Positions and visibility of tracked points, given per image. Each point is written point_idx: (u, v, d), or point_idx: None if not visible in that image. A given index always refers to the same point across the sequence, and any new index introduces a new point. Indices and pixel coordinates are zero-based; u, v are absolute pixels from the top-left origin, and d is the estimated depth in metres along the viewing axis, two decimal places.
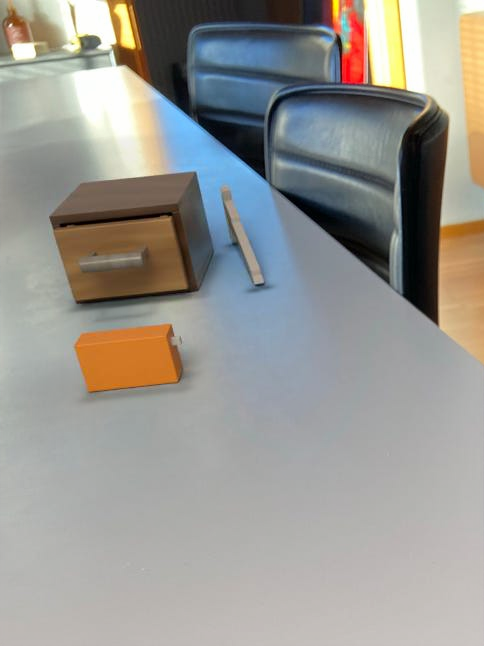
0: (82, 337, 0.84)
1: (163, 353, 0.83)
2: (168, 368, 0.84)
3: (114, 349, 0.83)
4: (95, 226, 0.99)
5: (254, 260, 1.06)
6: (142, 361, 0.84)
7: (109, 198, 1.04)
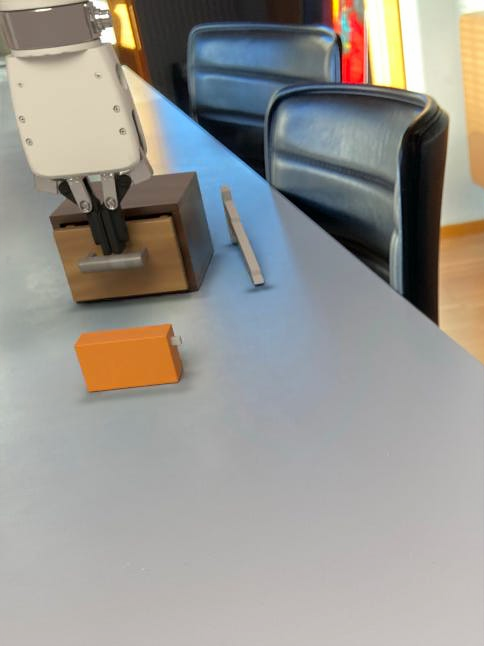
0: (82, 337, 0.84)
1: (163, 353, 0.83)
2: (168, 368, 0.84)
3: (114, 349, 0.83)
4: None
5: (254, 260, 1.06)
6: (142, 361, 0.84)
7: None
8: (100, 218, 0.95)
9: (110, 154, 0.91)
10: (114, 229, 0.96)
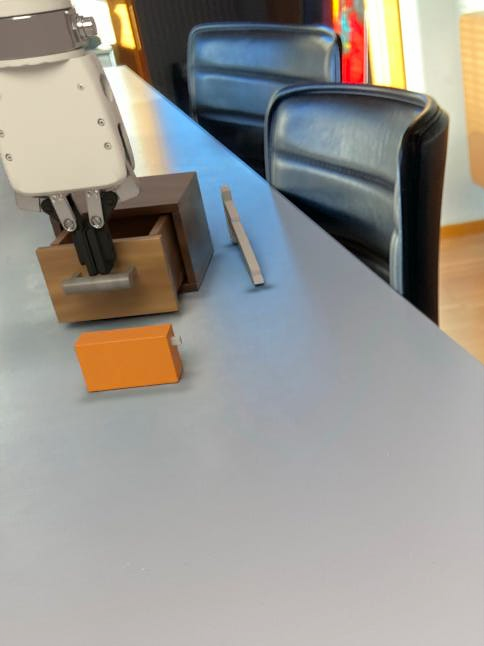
0: (82, 337, 0.84)
1: (163, 353, 0.83)
2: (168, 368, 0.84)
3: (114, 349, 0.83)
4: None
5: (254, 260, 1.06)
6: (142, 361, 0.84)
7: None
8: (85, 237, 0.90)
9: (95, 170, 0.86)
10: (100, 248, 0.90)
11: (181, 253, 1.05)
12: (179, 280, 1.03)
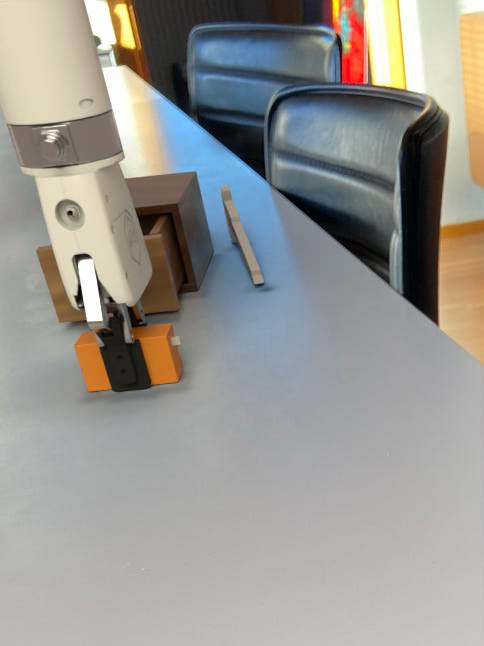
0: (82, 337, 0.84)
1: (163, 353, 0.83)
2: (168, 368, 0.84)
3: None
4: None
5: (254, 260, 1.06)
6: None
7: None
8: None
9: None
10: (110, 365, 0.83)
11: None
12: (179, 279, 1.03)
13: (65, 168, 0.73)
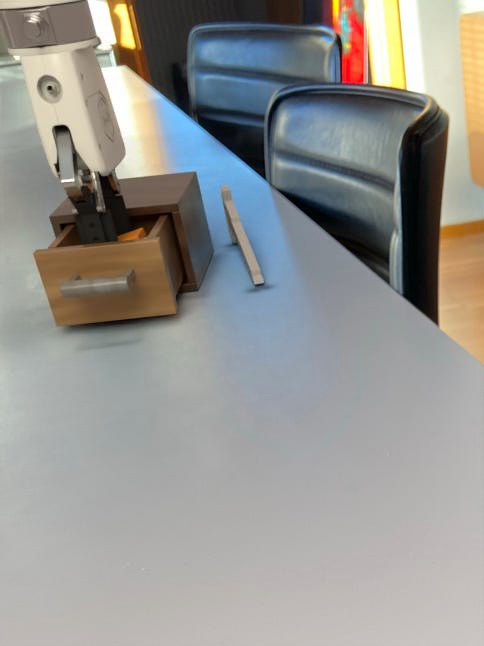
0: None
1: None
2: None
3: None
4: (78, 248, 0.93)
5: (254, 260, 1.06)
6: None
7: None
8: None
9: None
10: (84, 234, 0.94)
11: (180, 255, 1.05)
12: (178, 283, 1.02)
13: (45, 48, 0.85)
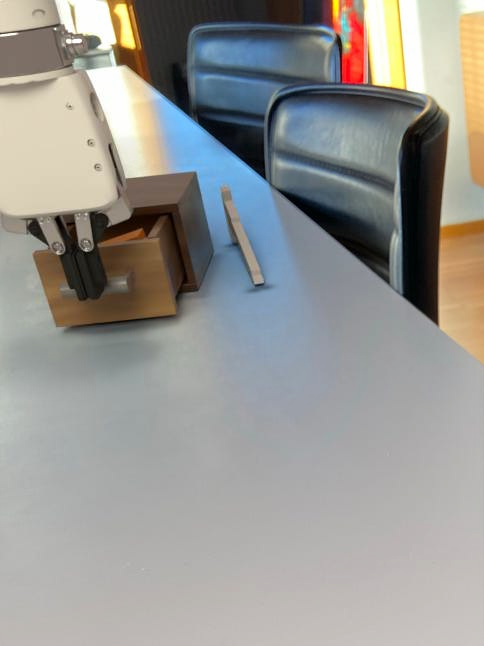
0: None
1: None
2: None
3: None
4: None
5: (254, 260, 1.06)
6: None
7: None
8: (74, 261, 0.86)
9: (84, 192, 0.82)
10: (90, 272, 0.87)
11: (180, 256, 1.04)
12: (177, 283, 1.02)
13: (71, 66, 0.79)
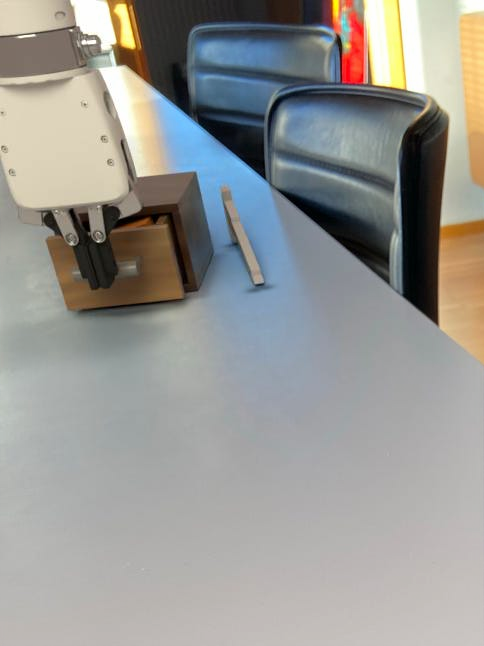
0: None
1: None
2: None
3: None
4: (88, 234, 0.96)
5: (254, 260, 1.06)
6: None
7: None
8: (87, 251, 0.90)
9: (97, 186, 0.87)
10: (102, 263, 0.91)
11: None
12: (184, 269, 1.06)
13: (86, 66, 0.83)
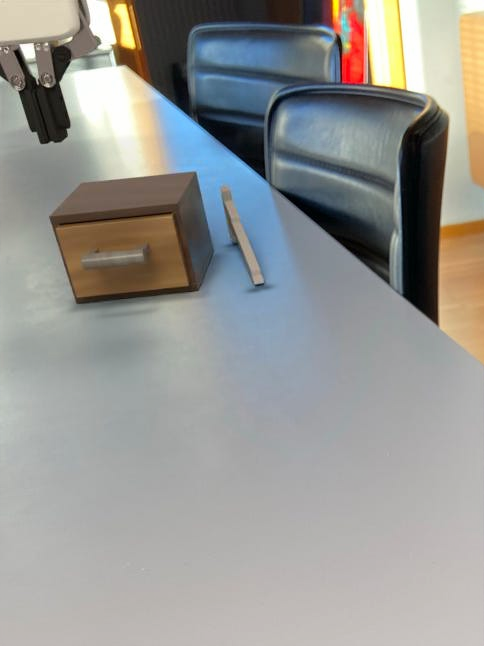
0: None
1: None
2: None
3: None
4: (97, 223, 1.00)
5: (254, 260, 1.06)
6: None
7: (109, 198, 1.04)
8: (35, 97, 0.81)
9: (44, 18, 0.78)
10: (52, 112, 0.82)
11: None
12: None
13: None
